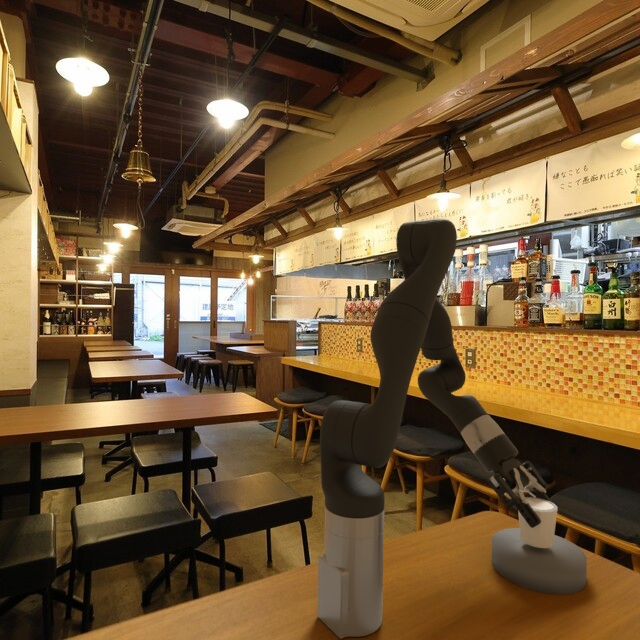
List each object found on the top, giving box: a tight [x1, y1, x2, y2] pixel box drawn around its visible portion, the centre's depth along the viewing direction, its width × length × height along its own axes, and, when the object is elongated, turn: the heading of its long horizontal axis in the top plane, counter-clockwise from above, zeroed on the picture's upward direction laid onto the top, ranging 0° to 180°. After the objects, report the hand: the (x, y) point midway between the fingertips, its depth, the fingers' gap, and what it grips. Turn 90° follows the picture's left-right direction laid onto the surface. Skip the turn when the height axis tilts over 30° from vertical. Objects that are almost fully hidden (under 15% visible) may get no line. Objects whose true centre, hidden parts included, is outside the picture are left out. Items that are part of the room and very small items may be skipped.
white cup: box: [517, 496, 558, 548], centre depth 85 cm, size 7×7×7 cm
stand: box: [491, 527, 588, 596], centre depth 85 cm, size 16×16×4 cm
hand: (545, 519), depth 84 cm, fingers closed on white cup, 7 cm apart
